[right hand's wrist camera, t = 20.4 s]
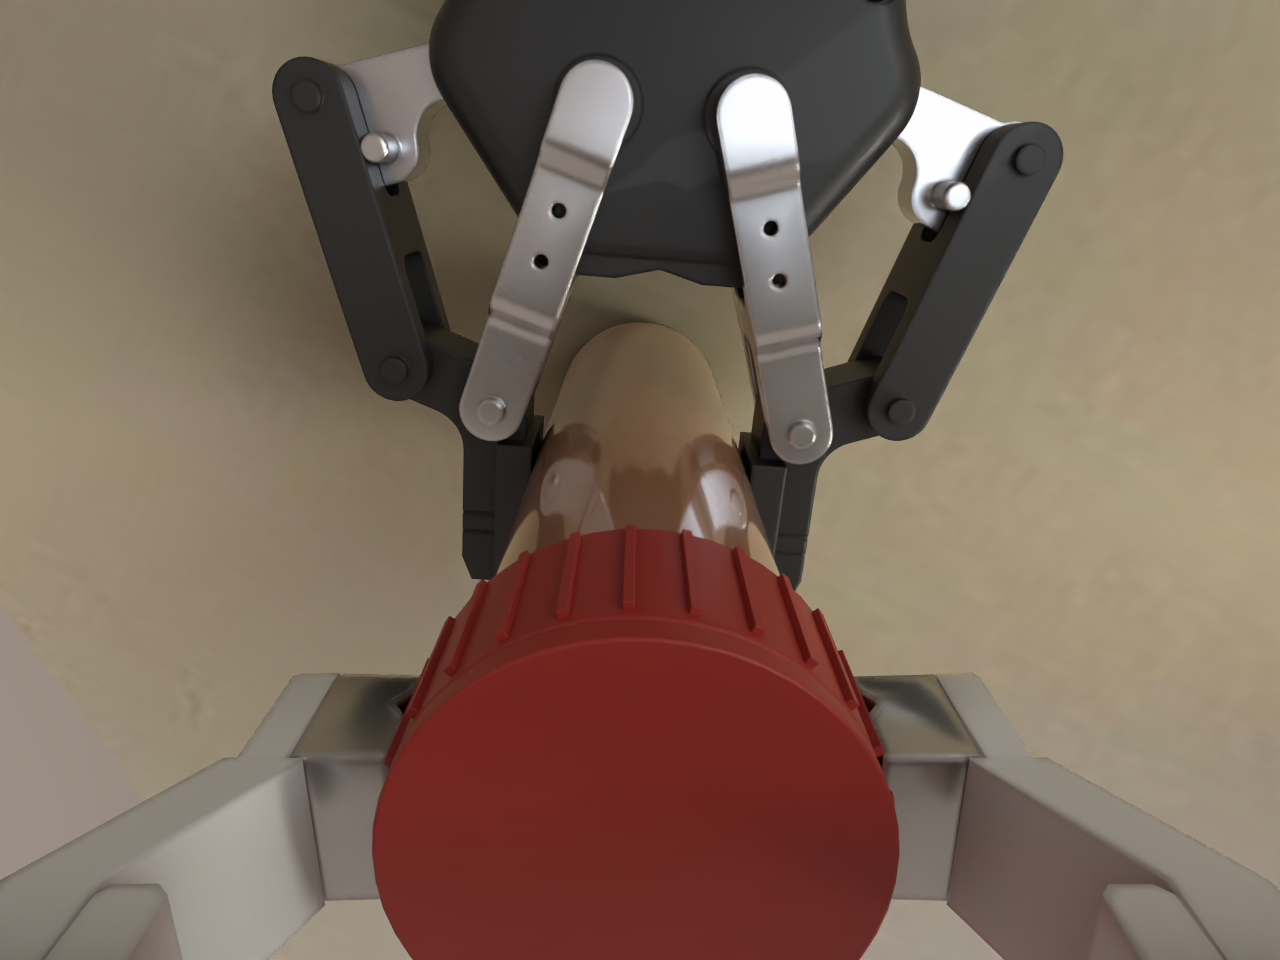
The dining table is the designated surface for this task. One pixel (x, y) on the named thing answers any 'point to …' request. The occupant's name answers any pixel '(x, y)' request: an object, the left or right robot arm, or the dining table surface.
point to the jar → (639, 450)
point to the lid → (635, 768)
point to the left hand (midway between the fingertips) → (630, 596)
